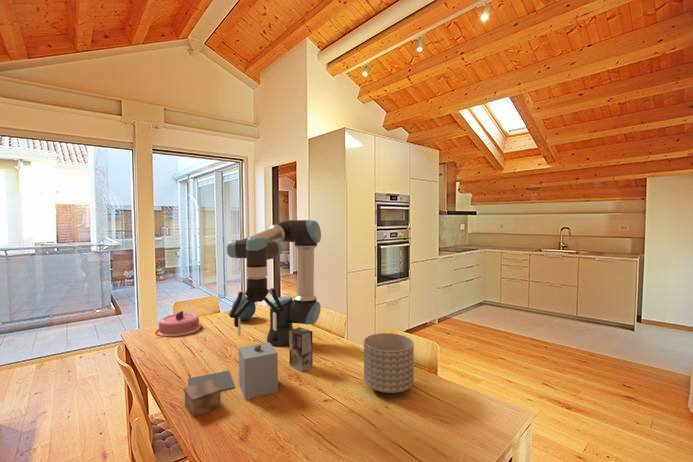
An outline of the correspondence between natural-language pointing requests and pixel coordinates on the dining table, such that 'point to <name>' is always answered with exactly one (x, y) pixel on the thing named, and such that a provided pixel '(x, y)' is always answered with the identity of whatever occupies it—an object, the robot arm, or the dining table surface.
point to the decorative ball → (248, 311)
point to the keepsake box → (202, 397)
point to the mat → (214, 380)
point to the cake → (178, 325)
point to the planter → (388, 362)
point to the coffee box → (300, 349)
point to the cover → (258, 370)
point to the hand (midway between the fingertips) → (257, 332)
